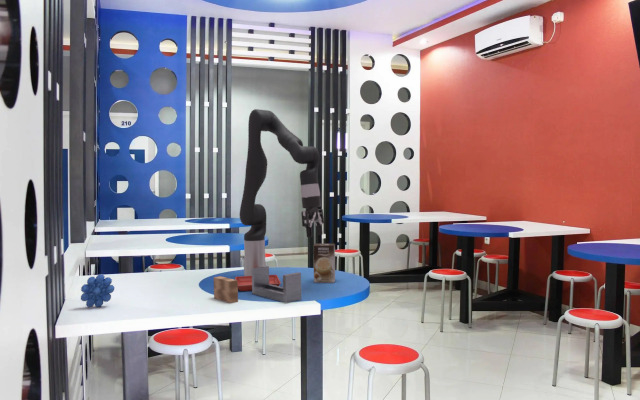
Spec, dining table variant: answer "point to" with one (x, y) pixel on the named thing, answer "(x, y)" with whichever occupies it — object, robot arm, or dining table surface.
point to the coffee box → (324, 263)
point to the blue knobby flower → (97, 290)
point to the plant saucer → (246, 282)
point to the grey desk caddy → (282, 294)
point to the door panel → (226, 289)
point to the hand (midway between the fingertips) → (314, 236)
